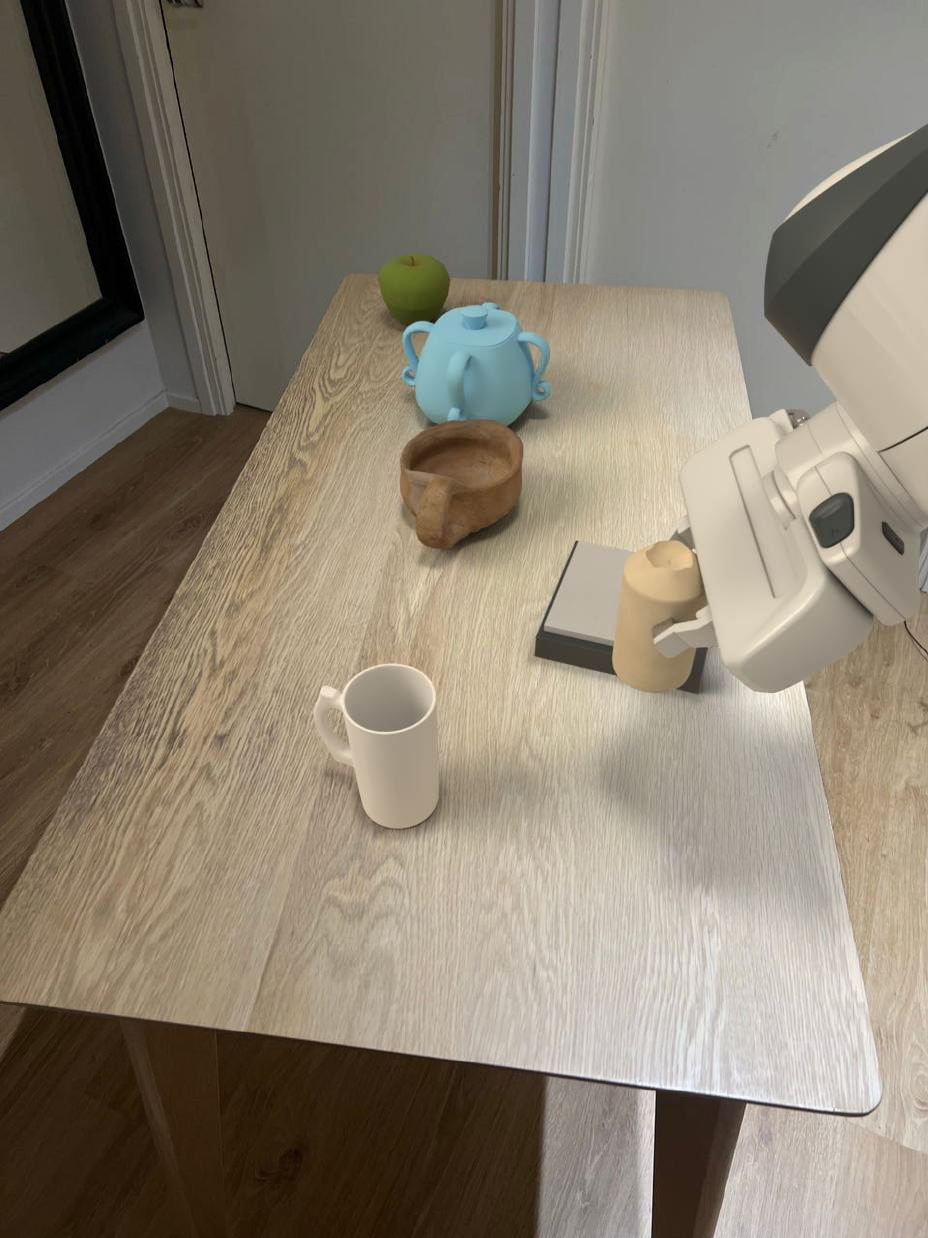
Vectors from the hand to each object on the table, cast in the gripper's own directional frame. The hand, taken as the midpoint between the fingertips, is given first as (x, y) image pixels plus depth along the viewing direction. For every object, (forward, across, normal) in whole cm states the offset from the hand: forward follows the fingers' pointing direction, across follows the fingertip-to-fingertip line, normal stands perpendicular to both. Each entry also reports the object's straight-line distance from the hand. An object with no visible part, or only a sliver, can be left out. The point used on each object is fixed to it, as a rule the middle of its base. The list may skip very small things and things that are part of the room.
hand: (652, 609), depth 59 cm
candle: (+4, 0, +4) cm, 6 cm away
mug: (+28, +1, 0) cm, 28 cm away
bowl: (+24, -35, +3) cm, 43 cm away
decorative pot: (+23, -59, +4) cm, 63 cm away
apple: (+30, -85, -3) cm, 90 cm away
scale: (+12, -19, +15) cm, 27 cm away
